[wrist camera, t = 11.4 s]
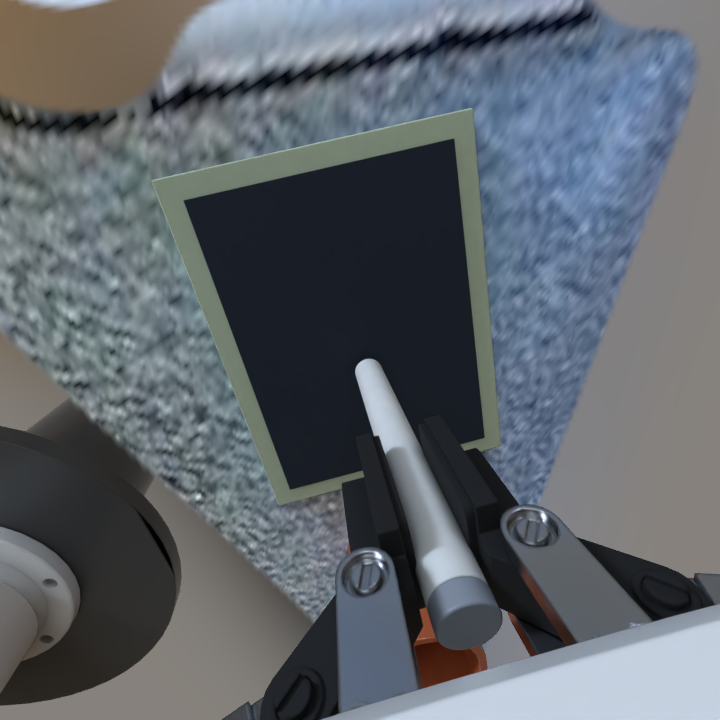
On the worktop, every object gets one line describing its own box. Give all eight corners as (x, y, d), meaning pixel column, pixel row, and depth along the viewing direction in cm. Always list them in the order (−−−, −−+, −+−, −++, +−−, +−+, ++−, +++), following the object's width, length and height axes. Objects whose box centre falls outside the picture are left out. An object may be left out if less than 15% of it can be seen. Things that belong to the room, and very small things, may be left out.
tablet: (279, 494, 23) (278, 507, 22) (159, 182, 16) (149, 180, 15) (493, 437, 24) (501, 447, 23) (464, 113, 17) (474, 106, 16)
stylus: (358, 385, 20) (440, 659, 8) (352, 362, 19) (430, 614, 7) (383, 379, 20) (506, 640, 8) (378, 355, 19) (501, 595, 7)
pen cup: (358, 591, 27) (377, 731, 20) (337, 526, 25) (350, 659, 17) (442, 567, 28) (491, 697, 20) (429, 501, 25) (481, 621, 18)
